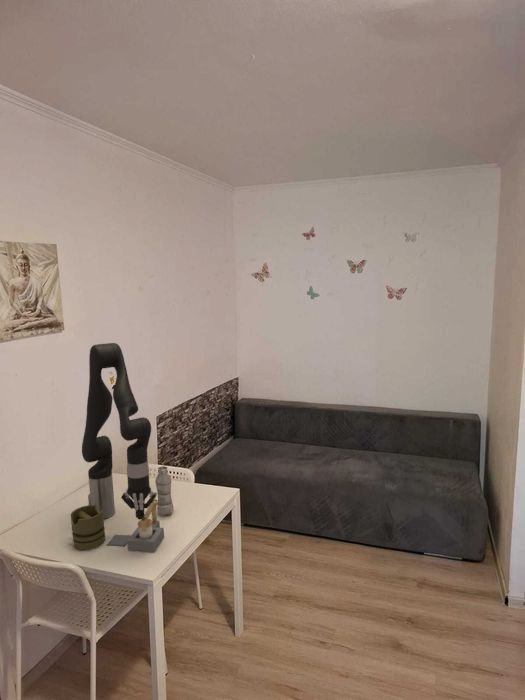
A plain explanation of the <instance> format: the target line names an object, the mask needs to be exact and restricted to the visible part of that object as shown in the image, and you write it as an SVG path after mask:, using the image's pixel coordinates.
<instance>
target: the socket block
mask: <svg viewBox="0 0 525 700" xmlns="http://www.w3.org/2000/svg"><path fill="white" fill-rule="evenodd" d="M151 518H152V519H151V520H152V533H153V536H152V537H151V539H146V538H139V526H138V525H137V528H136V529H135V530H134V531H133V533H132V534H130V535H131V536H130V538H129V539H128V540H127V544H126V545H127V551H128V552H140V553H141V552H142V553H155V552H156V551H157V549H158V548H159V546H160V545H161V544H162V542H163V540H164V539H165V529H164V527H161V525H160V524H161V523H160V522H161V521H160V520H158V511H157V506H155V507H154V509H153V511H152V512H151Z"/></svg>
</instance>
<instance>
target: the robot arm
mask: <svg viewBox="0 0 525 700" xmlns="http://www.w3.org/2000/svg"><path fill="white" fill-rule="evenodd" d="M123 354H124V353H123V351H122V349H121V346H120V345H119V344H118V343H116V342H110V343H108V342H107V343H99V344H93V345H92V346H91V348H90V350H89V357H88V358H89V361H88V363H89V370H88V371H89V380H88V381H89V385H88V393H87V395H88V396H87V400H86V401H87V402H86V415H85V416H86V417H85V418H86V419H85V427H84V433H83V437H82V443H81V456H82V458H83V460H84V461H85V462H86V463H94V462H96V463H95V464H94V465H92V466H91V467H90V468H89V469H88V471H87V472H88V473H87V474H88V485H89V486H88V487H89V494H88V495H87V498H88V499H87V500H88V505H96V508H97V510H98V511H99V512H101V510H103V516H104V520H105V519H108V518H111V517H113V516H114V515H115V513H116V507H115V506H116V505H115V497H114V496H115V494H114V493H115V492H114V481H113V471H112V470H113V446H112V441H111V439H110V438H109V436H107V435H100V436H98V435H99V432H100V430H102V428H103V426H104V425H105V424H106V422H107V421H108V419H109V418H110V416H111V414H112V408H113V402H114V404H115V407H116V410H117V412H118V418H119V429H120V430H119V432H120V435H121V437H122V438H123V440H125V441H127V442H131V441H133V440H136V441H135V442H133V443H132V444H129V446H128V447H127V449H126V459H127V461H126V464H127V465H126V472H127V473H126V474H127V475H126V476H127V490H126V492H124V493H122V495H121V498H120V499H121V500H122V501H123V502H124V503H125V504H126V505H127V506H128V507H129V508H130V509H133V510H135V517H136V519H137V520H142V518H143V516H144V514H145V509H148V507H149V505H150V504H151V503H152V502H153V500H156V498H157V496H158V493H157V491H156V492H154V491H153V490H152V488H151V486H150V473H149V472H150V467H149V461H148V460H149V459H148V446H149V441H150V438H151V434H152V425H151V421H150V420H149V418H147V417H138V418H133V419H130V417H132V416H134V415H136V414H137V413H138V411H139V406H138V403H137V400H136V398H135V395H134V393H133V391H132V387H131V385H130V381H129V376H128V375H129V374H128V370H127V366H126V362H125V358H124V355H123ZM109 368H114V370H115V374H116V378H115V384H114V386H113V390H112V393H111V391H110V390H109V388H108V387H107V385H106V384H105V382H104V380H103V377H102V370H103V369H109ZM148 496H149V499H148V500H147V501H146V499H147V498H148ZM145 501H146V502H145Z"/></svg>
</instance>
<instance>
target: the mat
mask: <svg viewBox="0 0 525 700" xmlns="http://www.w3.org/2000/svg"><path fill="white" fill-rule="evenodd" d="M131 535H132V534H130V535H129V534H128V535H127V534H114V535H113V536H112V538H110V540H108V542H107V543H106V546H109V547H110V546H111V547H126V546H127V545H128V544H127V540H128V539H129V538H130V536H131Z"/></svg>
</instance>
